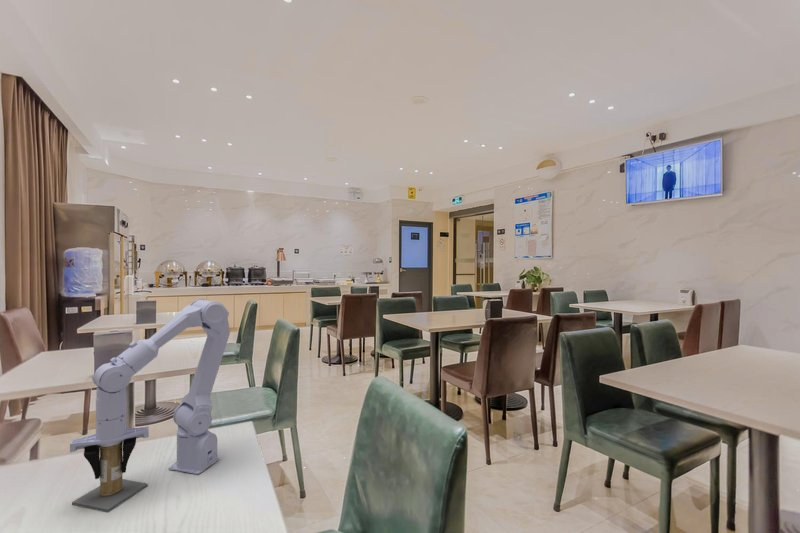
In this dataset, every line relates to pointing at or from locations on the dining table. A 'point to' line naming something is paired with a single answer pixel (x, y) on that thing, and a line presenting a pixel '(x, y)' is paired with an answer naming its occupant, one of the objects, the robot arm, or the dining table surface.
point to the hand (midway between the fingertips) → (111, 473)
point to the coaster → (111, 501)
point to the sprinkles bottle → (111, 468)
